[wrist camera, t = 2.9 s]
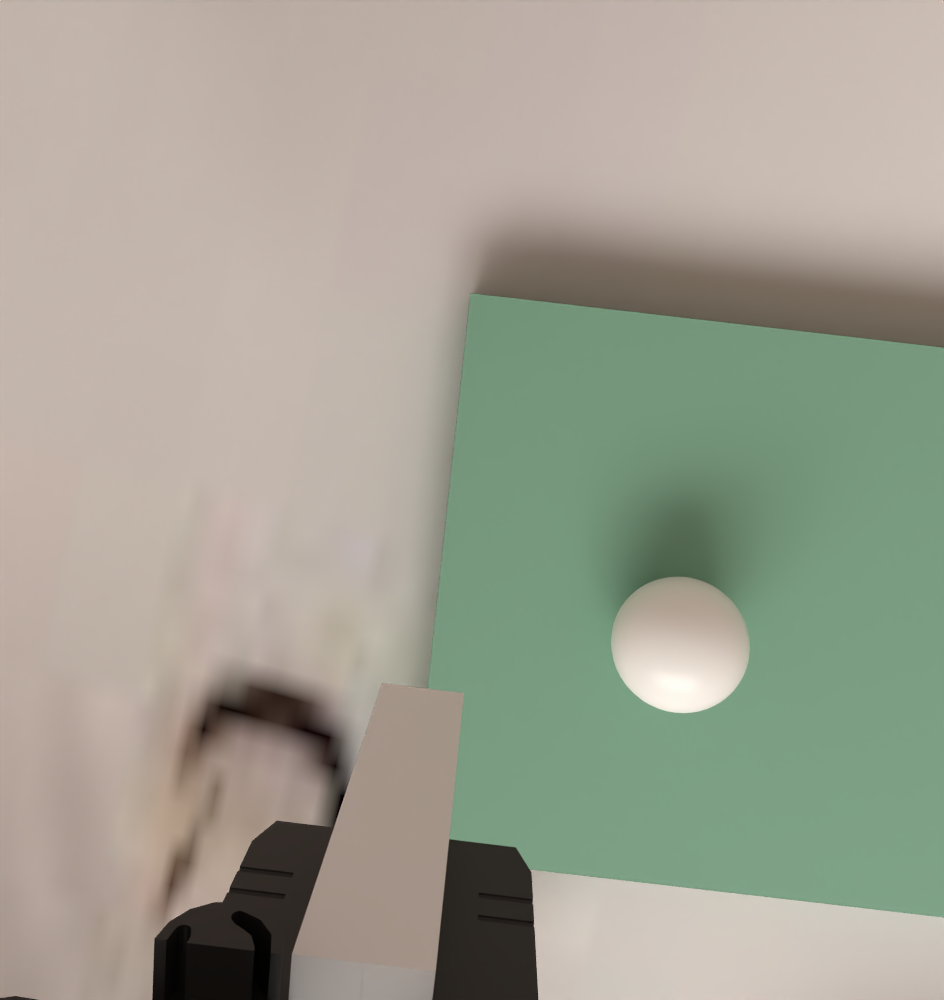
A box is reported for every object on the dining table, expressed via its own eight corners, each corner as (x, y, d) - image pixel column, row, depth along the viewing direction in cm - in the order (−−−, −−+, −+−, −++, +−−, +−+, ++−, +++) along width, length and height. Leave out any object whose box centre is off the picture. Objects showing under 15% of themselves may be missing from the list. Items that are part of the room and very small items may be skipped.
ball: (594, 671, 26) (611, 729, 22) (612, 553, 25) (633, 593, 21) (716, 685, 25) (754, 746, 22) (738, 568, 25) (781, 610, 21)
